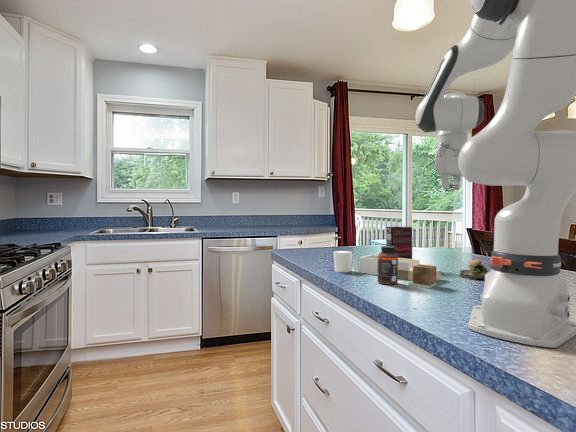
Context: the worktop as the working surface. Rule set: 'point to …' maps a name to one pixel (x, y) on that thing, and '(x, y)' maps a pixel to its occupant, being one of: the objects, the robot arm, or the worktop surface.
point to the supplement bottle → (388, 266)
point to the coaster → (420, 285)
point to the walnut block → (424, 274)
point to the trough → (404, 267)
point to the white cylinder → (342, 261)
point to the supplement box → (400, 240)
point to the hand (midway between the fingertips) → (450, 189)
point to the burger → (474, 271)
